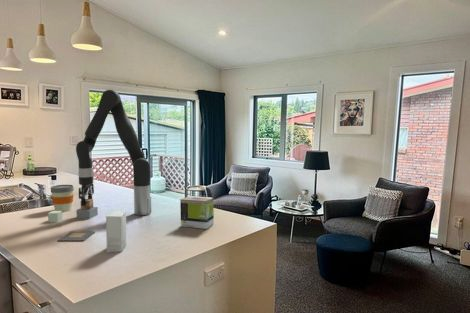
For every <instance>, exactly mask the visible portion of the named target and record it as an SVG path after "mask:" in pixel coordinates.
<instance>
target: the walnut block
mask: <svg viewBox="0 0 470 313" xmlns="http://www.w3.org/2000/svg"><path fill="white" fill-rule="evenodd" d="M93 207H94V198H92V199H88V198H86V205H85V206H82V205H81V204H80V208H81V210H90V209H92V208H93Z"/></svg>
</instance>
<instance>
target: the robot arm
mask: <svg viewBox="0 0 470 313" xmlns="http://www.w3.org/2000/svg"><path fill="white" fill-rule="evenodd" d="M110 113H111V115H112V118H113V121H114V126H115V130H116V132H117V134H118V137H119V139H120V141H121V143H122V145H123V147H124V148H125V150H126V151H127V153H128V155H129V157H130V162H131V164H132V167H133V170H132V171H133V204H134V205H133V208H134V215H135V216H146V215H150V214H151V213H152V196H151V183H150V182H151V165H150V162H149V161H148V160H147V158H146V157H145V155H144V153H143V151H142V149H141V146H140V143H139V139H138V135H137V133H136V131H135V128H134V126H133V124H132V122H131V120H130V118H129V116H128V115H127V113H126V111H125V107H124V105H123V102H122V98H121V95H120V94H119V93H118V92H117V90H113V89H107V90H104V91H103V92H102V94H101V97H100V100H99V103H98V107H97V109H96V111H95V113H94V115H93V117H92V119H91V121H90V122H89V124H88V126H87V127H86V129H85V132H84V138H83V140H81V141H78V142H77V143H76V146H75V152H76V157H77V161H78V184H79V185H80V186H81V187H79V188H78V199H79V200H80V206H81V205H82V206H85V205H86V199H93V195H94V194H95V186H94V170H93V160H92V158H91V157H90V153H91V152H92V151H93V150H94V147H95V146H96V143H97V139H98V137H99V135H100V133H101V132H102V130H103V127H104V126H105V122H106V120H107V117H108V115H109V114H110ZM86 197H87V198H86Z"/></svg>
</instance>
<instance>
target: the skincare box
mask: <svg viewBox="0 0 470 313" xmlns="http://www.w3.org/2000/svg"><path fill="white" fill-rule="evenodd" d="M105 227H106V228H105V230H106V231H105V232H106V234H105V235H106V236H105V237H106V253H123V251H124V249H125V248H126V246H127V211H126V210H111V211H110V212H109V213H108V214H107V215H106V216H105Z"/></svg>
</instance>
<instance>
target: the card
mask: <svg viewBox="0 0 470 313" xmlns="http://www.w3.org/2000/svg"><path fill="white" fill-rule="evenodd" d="M95 233H96V231H95V230H94V231H93V230H92V231H91V230H90V231H89V230H88V231H87V230H86V231H83V230H82V231H81V230H79V231H78V230H77V231H69V232H67V233H66V234H64V235H63V236H61V237H60V238H58V239H57V241H56V242H85V241H86V240H88V239H89V238H90V237H92V236H93V235H94V234H95Z"/></svg>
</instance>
